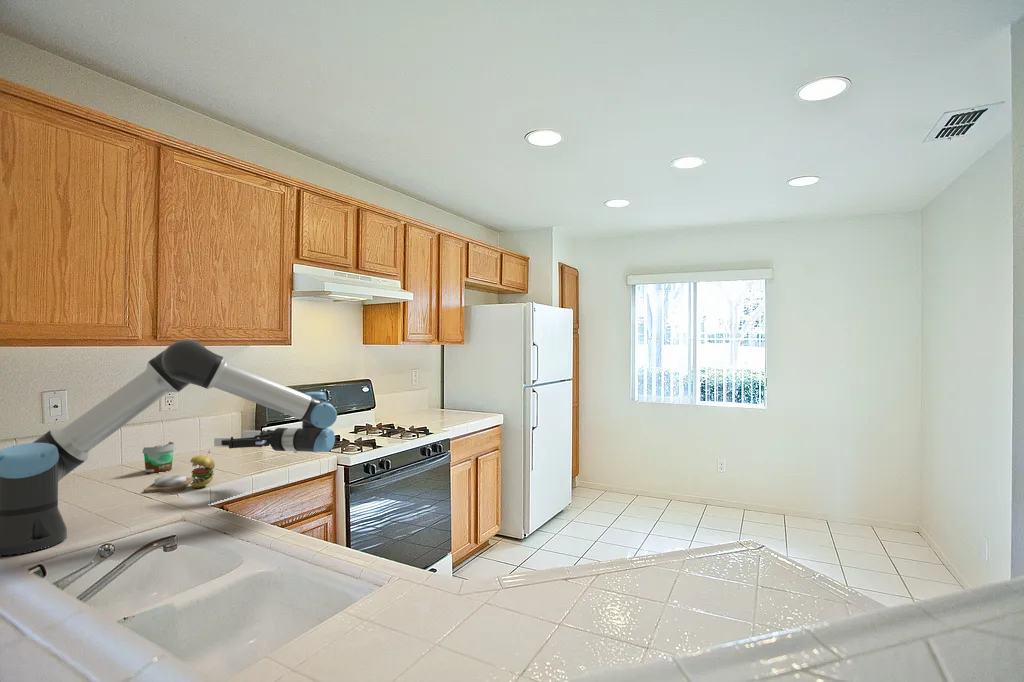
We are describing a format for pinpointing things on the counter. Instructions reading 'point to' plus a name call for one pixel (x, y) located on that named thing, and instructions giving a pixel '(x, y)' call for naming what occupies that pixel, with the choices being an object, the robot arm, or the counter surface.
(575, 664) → the counter surface
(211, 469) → the hamburger
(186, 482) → the soap dish
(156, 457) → the food container
